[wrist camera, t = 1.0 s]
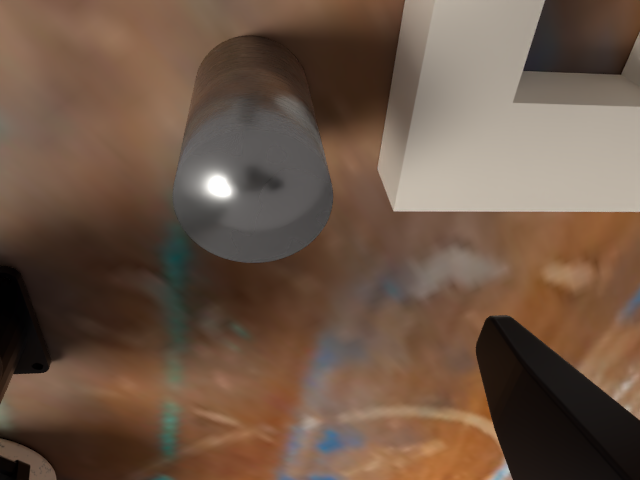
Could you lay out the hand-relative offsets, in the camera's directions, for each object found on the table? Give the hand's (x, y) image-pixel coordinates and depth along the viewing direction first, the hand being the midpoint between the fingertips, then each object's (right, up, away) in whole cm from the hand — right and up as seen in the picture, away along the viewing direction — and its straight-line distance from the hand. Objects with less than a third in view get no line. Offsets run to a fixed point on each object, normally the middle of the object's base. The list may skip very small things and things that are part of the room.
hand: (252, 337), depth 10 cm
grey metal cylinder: (-1, +7, +9) cm, 12 cm away
